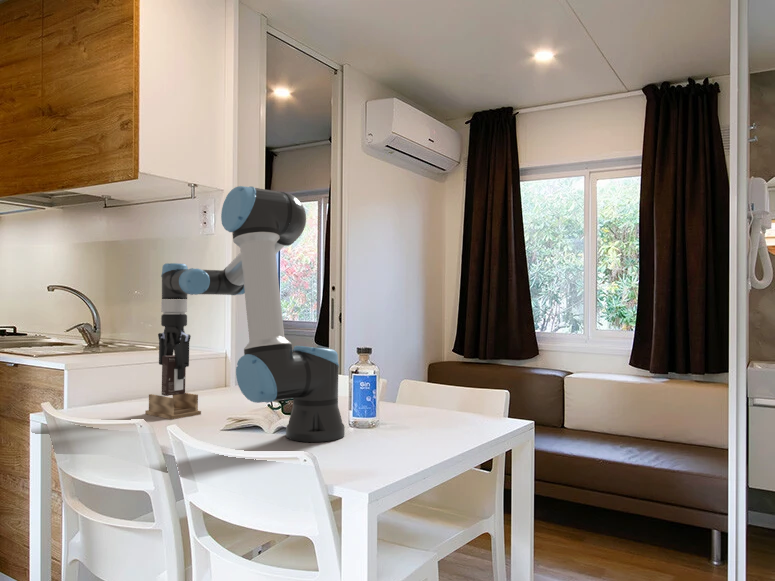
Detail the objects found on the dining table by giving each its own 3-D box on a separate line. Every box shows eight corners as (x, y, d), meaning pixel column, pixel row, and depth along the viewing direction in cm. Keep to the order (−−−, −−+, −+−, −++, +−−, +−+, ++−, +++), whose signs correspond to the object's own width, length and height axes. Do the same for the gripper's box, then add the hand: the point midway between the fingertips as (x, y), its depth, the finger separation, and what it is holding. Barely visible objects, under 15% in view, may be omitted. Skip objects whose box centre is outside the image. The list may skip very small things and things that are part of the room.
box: (167, 396, 180) (167, 356, 181) (161, 395, 183) (161, 355, 184) (186, 394, 184) (186, 355, 185) (179, 393, 188) (179, 354, 188)
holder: (201, 414, 184) (201, 394, 184) (172, 419, 176) (172, 398, 176) (174, 409, 192) (174, 390, 192) (145, 413, 184) (145, 394, 184)
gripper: (202, 313, 182) (201, 390, 182) (168, 312, 193) (167, 385, 192) (181, 314, 176) (180, 393, 176) (146, 313, 187) (145, 387, 186)
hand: (173, 389), depth 184 cm, fingers closed on box, 5 cm apart
